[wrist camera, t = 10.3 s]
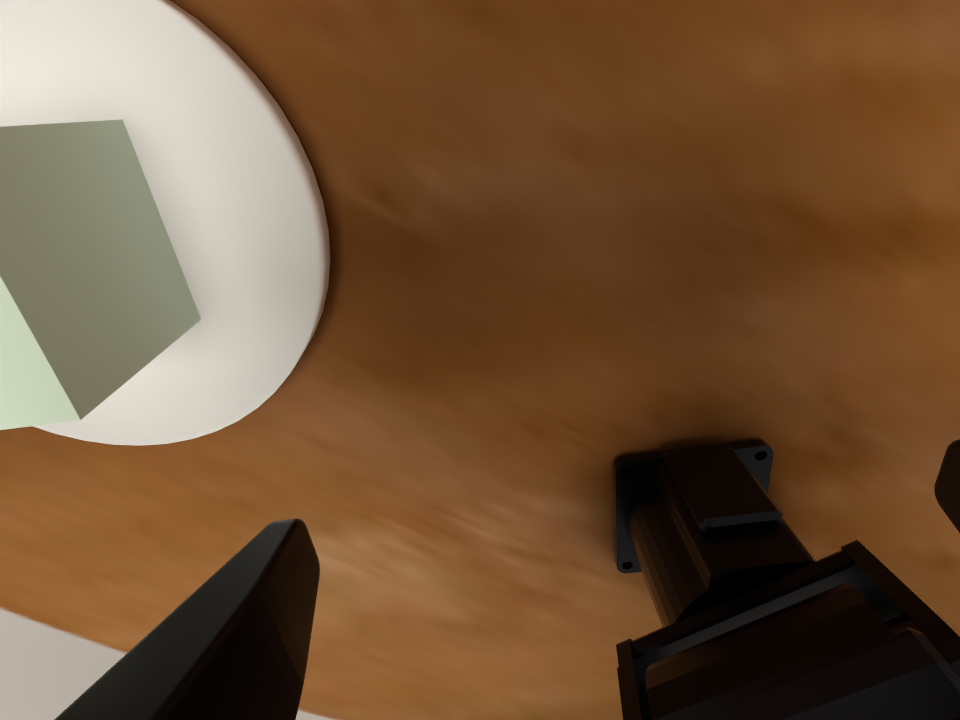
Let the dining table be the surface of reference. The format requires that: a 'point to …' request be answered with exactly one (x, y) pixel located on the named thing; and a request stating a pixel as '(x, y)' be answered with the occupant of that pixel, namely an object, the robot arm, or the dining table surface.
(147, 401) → the plate
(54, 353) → the sage cube
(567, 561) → the dining table surface
